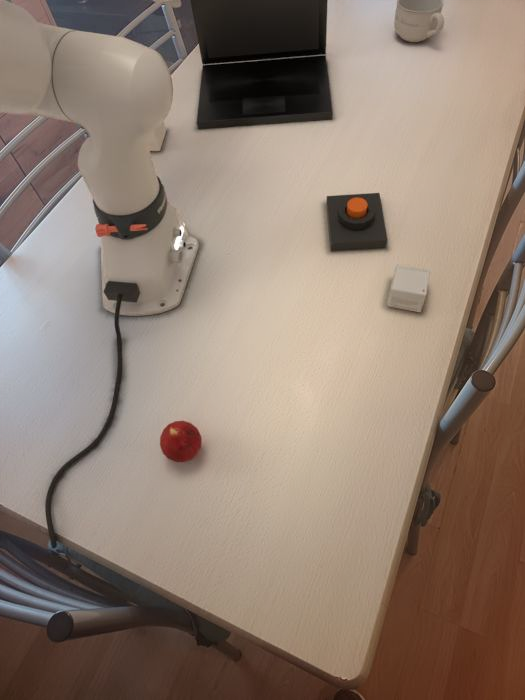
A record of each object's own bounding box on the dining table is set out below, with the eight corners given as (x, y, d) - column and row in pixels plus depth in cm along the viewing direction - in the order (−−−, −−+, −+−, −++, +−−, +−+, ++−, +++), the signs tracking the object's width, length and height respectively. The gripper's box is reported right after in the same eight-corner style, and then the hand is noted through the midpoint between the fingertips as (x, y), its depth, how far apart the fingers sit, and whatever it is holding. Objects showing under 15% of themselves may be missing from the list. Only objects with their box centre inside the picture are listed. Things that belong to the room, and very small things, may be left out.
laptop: (332, 119, 110) (332, 111, 109) (198, 129, 112) (196, 121, 111) (325, 62, 121) (325, 54, 120) (203, 72, 123) (202, 64, 122)
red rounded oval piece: (206, 430, 76) (195, 409, 69) (205, 467, 73) (194, 449, 66) (168, 432, 76) (154, 412, 69) (165, 470, 73) (150, 452, 66)
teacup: (385, 30, 126) (389, -6, 119) (424, 19, 127) (431, -16, 120) (409, 58, 119) (415, 23, 112) (451, 47, 120) (459, 11, 113)
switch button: (367, 218, 90) (368, 211, 88) (347, 219, 90) (348, 212, 89) (365, 203, 92) (366, 196, 90) (345, 205, 92) (346, 197, 90)
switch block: (385, 248, 91) (388, 232, 87) (330, 251, 91) (331, 236, 88) (378, 201, 97) (380, 185, 93) (326, 204, 97) (326, 188, 94)
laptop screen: (329, -54, 100) (329, -56, 101) (182, -40, 102) (182, -42, 103) (325, 54, 120) (325, 52, 120) (202, 65, 122) (202, 62, 122)
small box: (425, 286, 86) (431, 268, 81) (420, 313, 83) (426, 296, 79) (391, 280, 87) (396, 262, 83) (386, 307, 84) (390, 289, 80)
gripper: (142, -131, 76) (165, -27, 88) (121, -70, 66) (150, 38, 78) (183, -136, 75) (201, -30, 87) (168, -75, 65) (190, 35, 77)
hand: (177, 3), depth 82 cm, fingers closed
